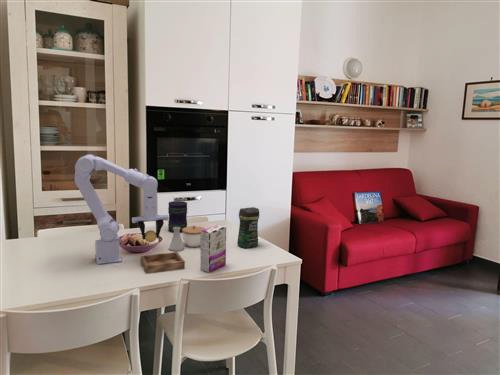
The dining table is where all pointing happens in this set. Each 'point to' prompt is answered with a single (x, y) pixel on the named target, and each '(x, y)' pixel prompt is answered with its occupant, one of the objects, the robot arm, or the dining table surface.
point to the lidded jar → (192, 235)
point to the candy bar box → (213, 248)
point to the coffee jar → (248, 227)
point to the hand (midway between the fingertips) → (150, 238)
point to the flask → (176, 241)
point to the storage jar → (177, 215)
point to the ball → (150, 236)
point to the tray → (162, 262)
